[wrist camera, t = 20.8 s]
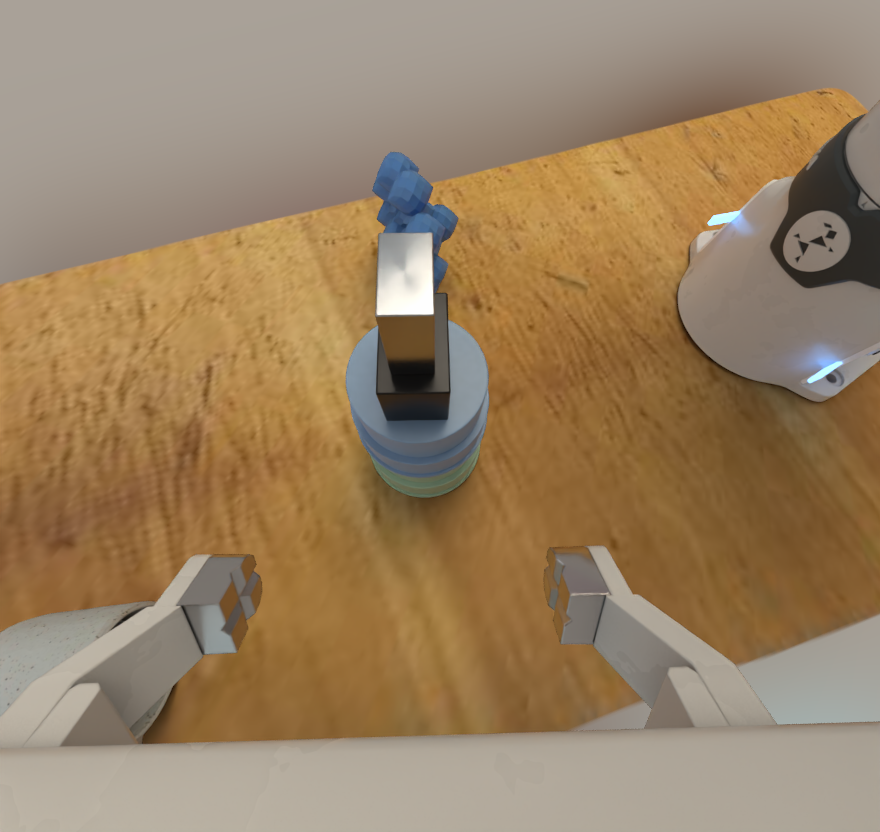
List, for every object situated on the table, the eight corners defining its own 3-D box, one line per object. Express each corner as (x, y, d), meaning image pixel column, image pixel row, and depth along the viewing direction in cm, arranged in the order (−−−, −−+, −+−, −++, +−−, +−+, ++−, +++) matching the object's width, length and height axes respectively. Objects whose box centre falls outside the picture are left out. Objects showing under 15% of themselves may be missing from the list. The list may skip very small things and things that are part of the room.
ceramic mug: (69, 608, 27) (-65, 632, 20) (187, 593, 28) (97, 611, 20) (39, 794, 24) (-135, 904, 17) (173, 774, 24) (59, 874, 17)
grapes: (478, 316, 36) (498, 207, 24) (410, 339, 35) (397, 236, 23) (434, 224, 39) (433, 92, 28) (370, 243, 38) (343, 114, 27)
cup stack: (454, 377, 33) (464, 277, 21) (497, 472, 31) (537, 420, 18) (355, 413, 32) (306, 330, 20) (392, 515, 30) (360, 491, 17)
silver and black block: (445, 333, 20) (450, 212, 13) (448, 420, 18) (455, 337, 11) (388, 334, 20) (360, 213, 13) (386, 421, 18) (353, 339, 11)
